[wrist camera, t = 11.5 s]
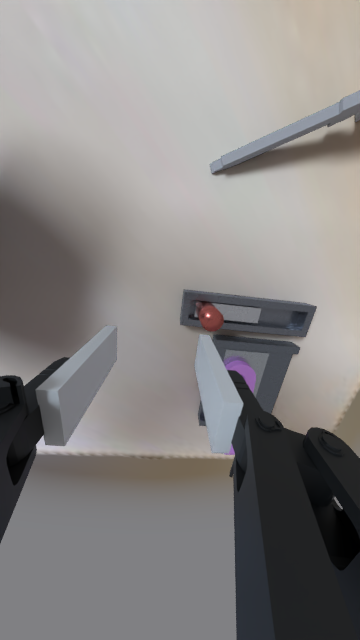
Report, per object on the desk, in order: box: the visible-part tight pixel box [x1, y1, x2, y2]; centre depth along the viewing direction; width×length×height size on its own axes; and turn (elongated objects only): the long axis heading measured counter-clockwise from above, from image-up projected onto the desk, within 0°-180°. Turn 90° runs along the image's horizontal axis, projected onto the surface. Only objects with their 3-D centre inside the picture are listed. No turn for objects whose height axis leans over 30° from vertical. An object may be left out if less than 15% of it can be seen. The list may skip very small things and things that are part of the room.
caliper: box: [210, 90, 360, 174], centre depth 18 cm, size 20×1×6 cm, turn 108°
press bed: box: [198, 335, 300, 426], centre depth 31 cm, size 14×18×2 cm
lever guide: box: [180, 290, 317, 337], centre depth 27 cm, size 20×5×2 cm, turn 83°
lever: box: [194, 300, 262, 331], centre depth 24 cm, size 10×3×6 cm, turn 83°
